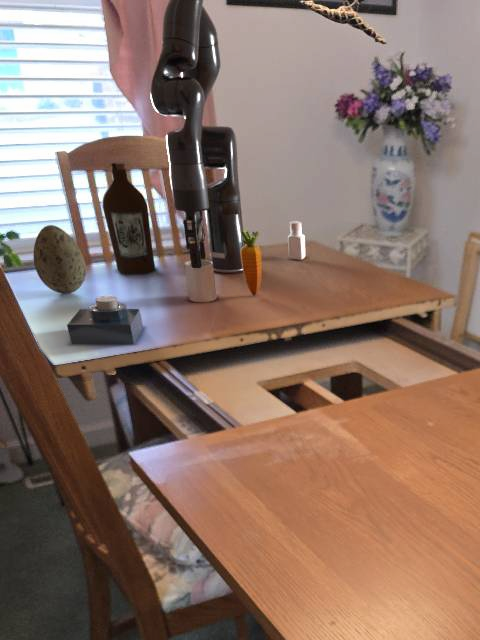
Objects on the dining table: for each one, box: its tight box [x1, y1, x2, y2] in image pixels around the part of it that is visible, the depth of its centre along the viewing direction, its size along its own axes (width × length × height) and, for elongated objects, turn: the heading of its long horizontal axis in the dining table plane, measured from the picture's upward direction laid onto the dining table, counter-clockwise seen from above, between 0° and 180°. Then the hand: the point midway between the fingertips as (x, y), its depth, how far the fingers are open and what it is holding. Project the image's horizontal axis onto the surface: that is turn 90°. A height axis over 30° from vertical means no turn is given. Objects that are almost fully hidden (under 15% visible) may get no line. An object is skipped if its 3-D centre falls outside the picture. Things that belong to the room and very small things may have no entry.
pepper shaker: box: [287, 220, 306, 261], centre depth 198 cm, size 4×4×10 cm
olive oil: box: [102, 161, 156, 275], centre depth 179 cm, size 11×11×25 cm
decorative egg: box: [33, 224, 87, 295], centre depth 163 cm, size 11×11×15 cm
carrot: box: [240, 229, 263, 297], centre depth 166 cm, size 5×5×15 cm
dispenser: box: [66, 301, 144, 345], centre depth 143 cm, size 12×10×6 cm
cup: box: [183, 259, 218, 303], centre depth 166 cm, size 6×6×8 cm
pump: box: [94, 295, 118, 310], centre depth 141 cm, size 4×4×2 cm
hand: (199, 263), depth 163 cm, fingers open, 8 cm apart
